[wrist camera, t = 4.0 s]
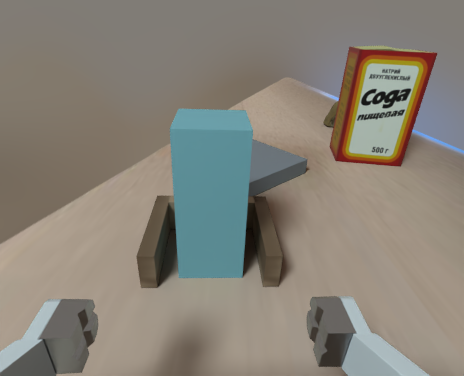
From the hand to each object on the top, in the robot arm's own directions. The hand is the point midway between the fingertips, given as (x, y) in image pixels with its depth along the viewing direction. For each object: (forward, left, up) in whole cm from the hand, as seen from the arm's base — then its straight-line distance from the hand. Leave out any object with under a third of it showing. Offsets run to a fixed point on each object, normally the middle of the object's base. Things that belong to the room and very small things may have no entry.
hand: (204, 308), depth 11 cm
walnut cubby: (-8, -9, -8) cm, 15 cm away
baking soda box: (-42, -12, -8) cm, 45 cm away
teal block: (-8, -9, -8) cm, 15 cm away
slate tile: (-23, -20, -8) cm, 32 cm away
